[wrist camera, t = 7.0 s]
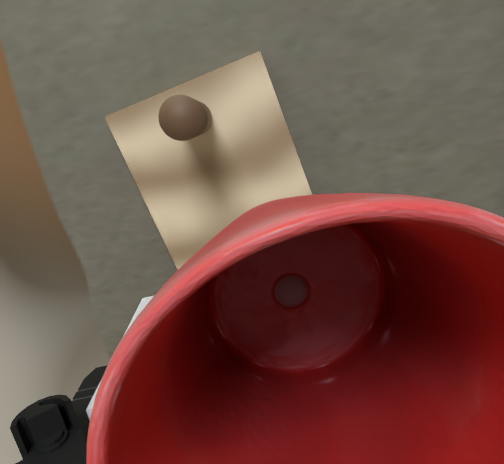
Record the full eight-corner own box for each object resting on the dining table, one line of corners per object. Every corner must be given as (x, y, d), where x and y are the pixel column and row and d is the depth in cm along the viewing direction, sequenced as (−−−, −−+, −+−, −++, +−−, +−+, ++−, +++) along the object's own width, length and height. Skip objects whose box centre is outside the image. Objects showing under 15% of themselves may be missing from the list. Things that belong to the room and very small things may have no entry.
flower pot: (133, 185, 16) (-4, 270, 7) (409, 134, 16) (662, 147, 7) (190, 414, 19) (151, 706, 9) (427, 370, 19) (626, 614, 9)
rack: (110, 117, 31) (57, 116, 22) (258, 54, 30) (268, 25, 21) (232, 373, 37) (231, 456, 28) (358, 326, 36) (398, 396, 27)
